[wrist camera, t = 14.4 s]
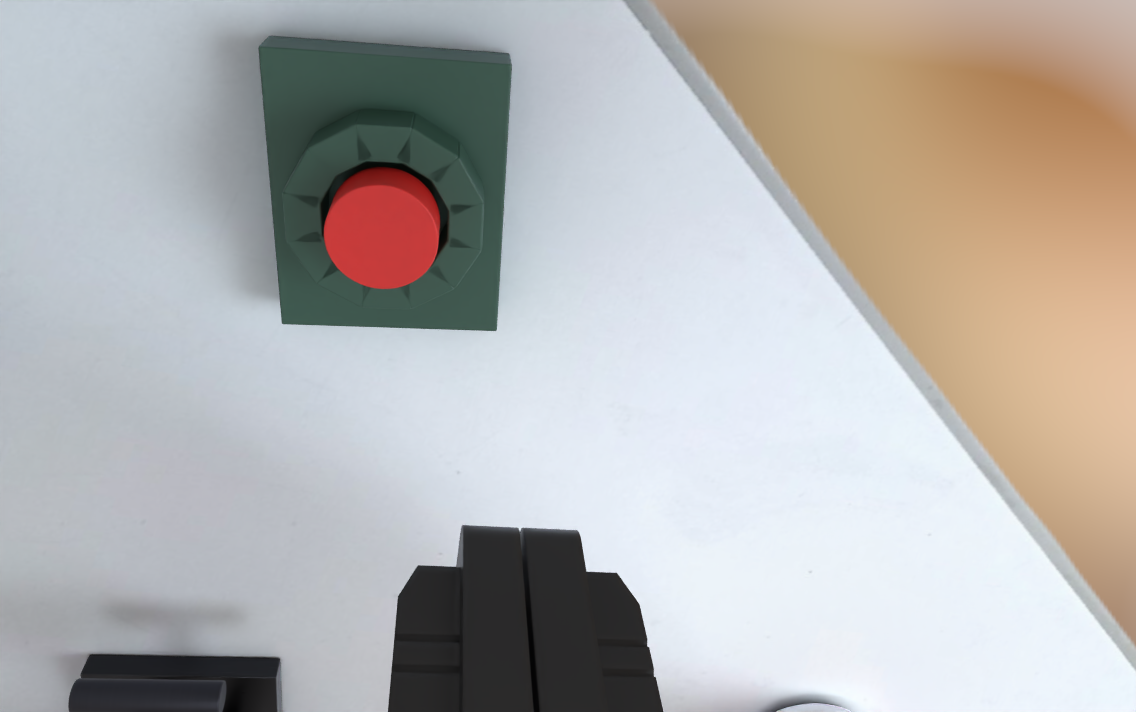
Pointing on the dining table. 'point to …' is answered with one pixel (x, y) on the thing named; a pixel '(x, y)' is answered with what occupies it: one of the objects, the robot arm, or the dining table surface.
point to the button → (382, 228)
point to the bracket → (201, 676)
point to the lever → (147, 695)
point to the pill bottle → (814, 708)
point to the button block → (397, 140)
